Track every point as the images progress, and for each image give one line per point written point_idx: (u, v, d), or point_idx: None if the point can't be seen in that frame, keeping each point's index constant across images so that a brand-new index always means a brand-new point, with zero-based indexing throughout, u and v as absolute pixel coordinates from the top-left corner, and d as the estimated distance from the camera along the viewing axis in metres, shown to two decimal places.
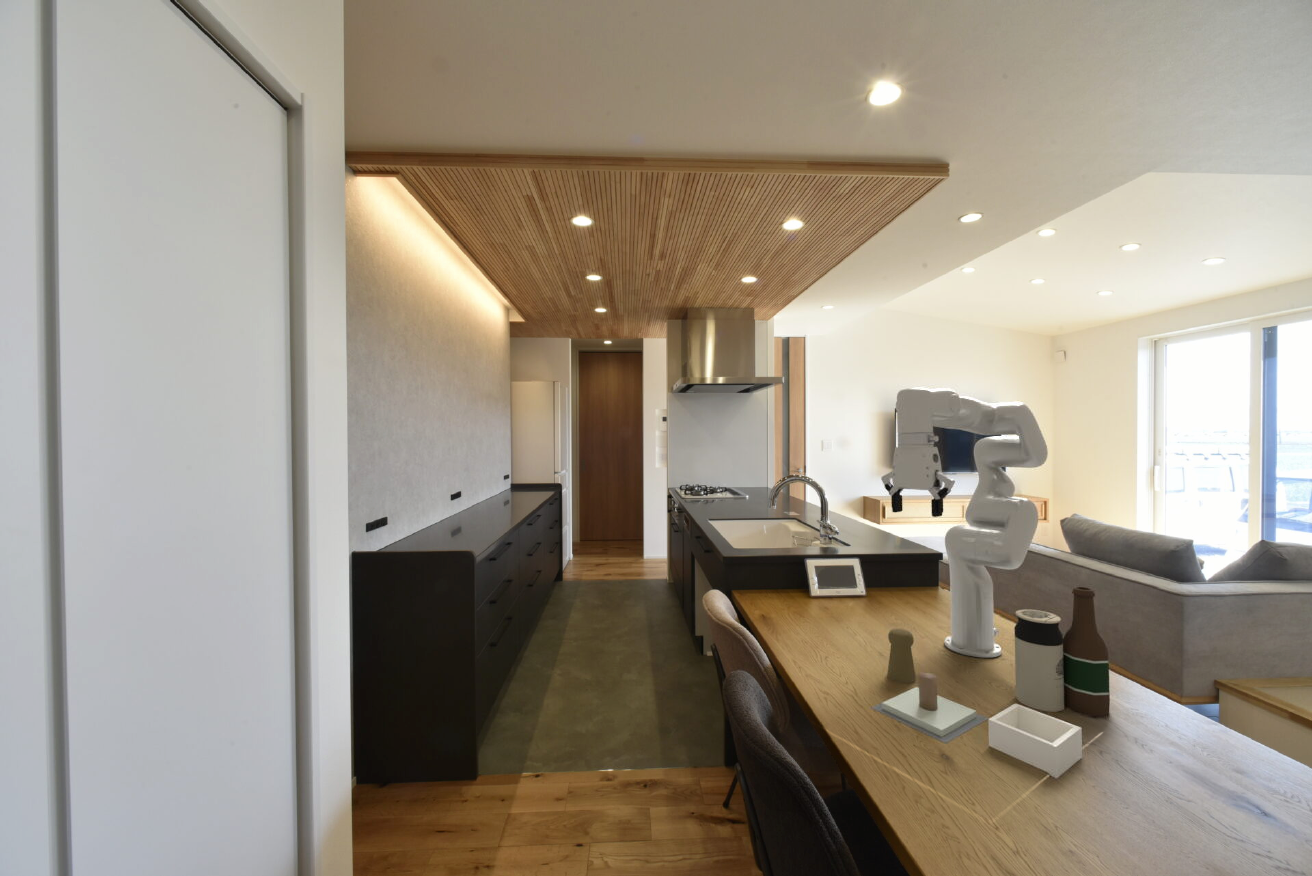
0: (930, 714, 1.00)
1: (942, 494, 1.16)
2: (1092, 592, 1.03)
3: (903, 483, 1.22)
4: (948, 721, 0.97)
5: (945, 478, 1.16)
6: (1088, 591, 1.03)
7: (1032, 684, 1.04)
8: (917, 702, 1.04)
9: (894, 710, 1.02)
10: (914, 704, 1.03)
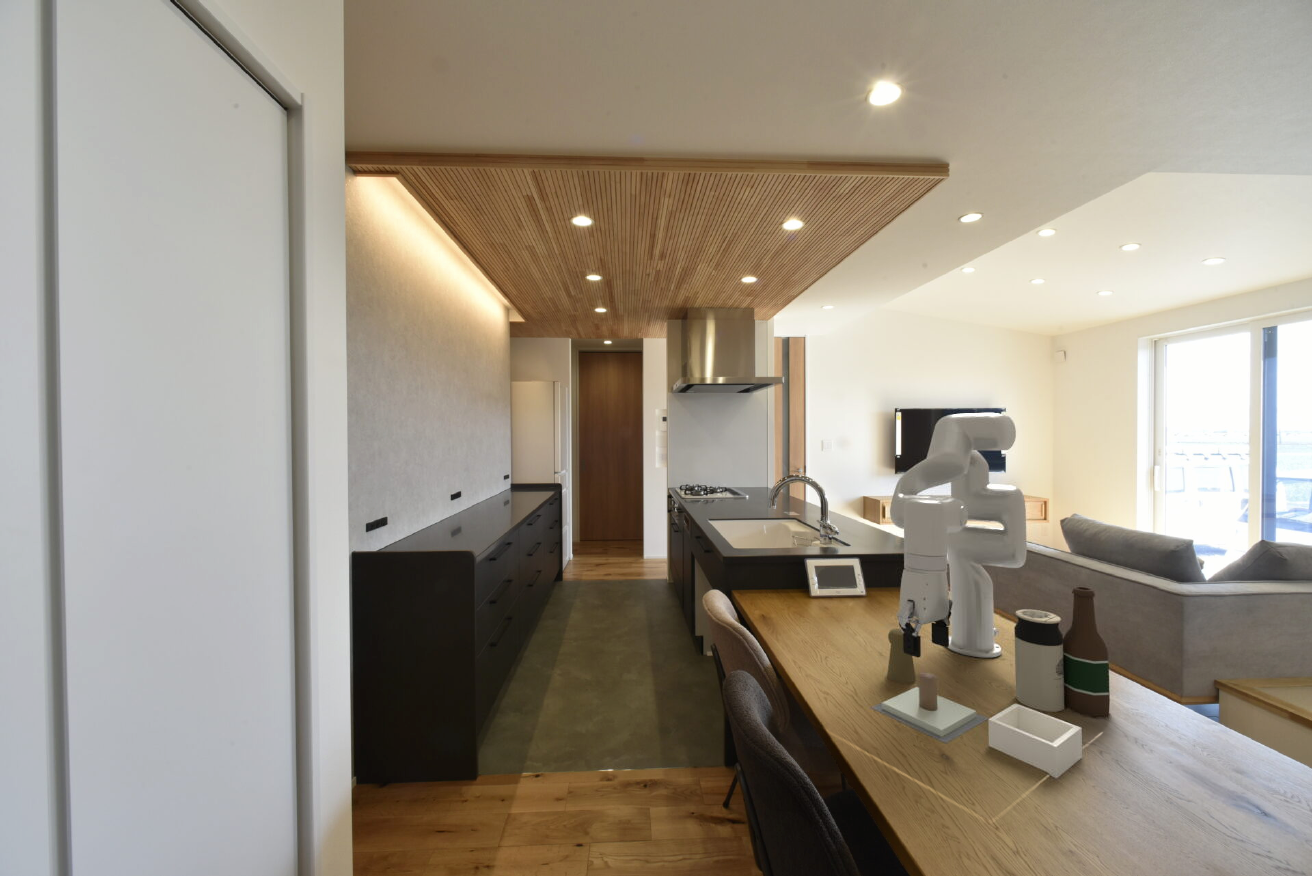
0: (930, 714, 1.00)
1: (948, 618, 1.05)
2: (1092, 592, 1.03)
3: (931, 617, 1.00)
4: (948, 721, 0.97)
5: (948, 600, 1.06)
6: (1088, 592, 1.03)
7: (1032, 684, 1.04)
8: (917, 702, 1.04)
9: (894, 710, 1.02)
10: (914, 704, 1.03)
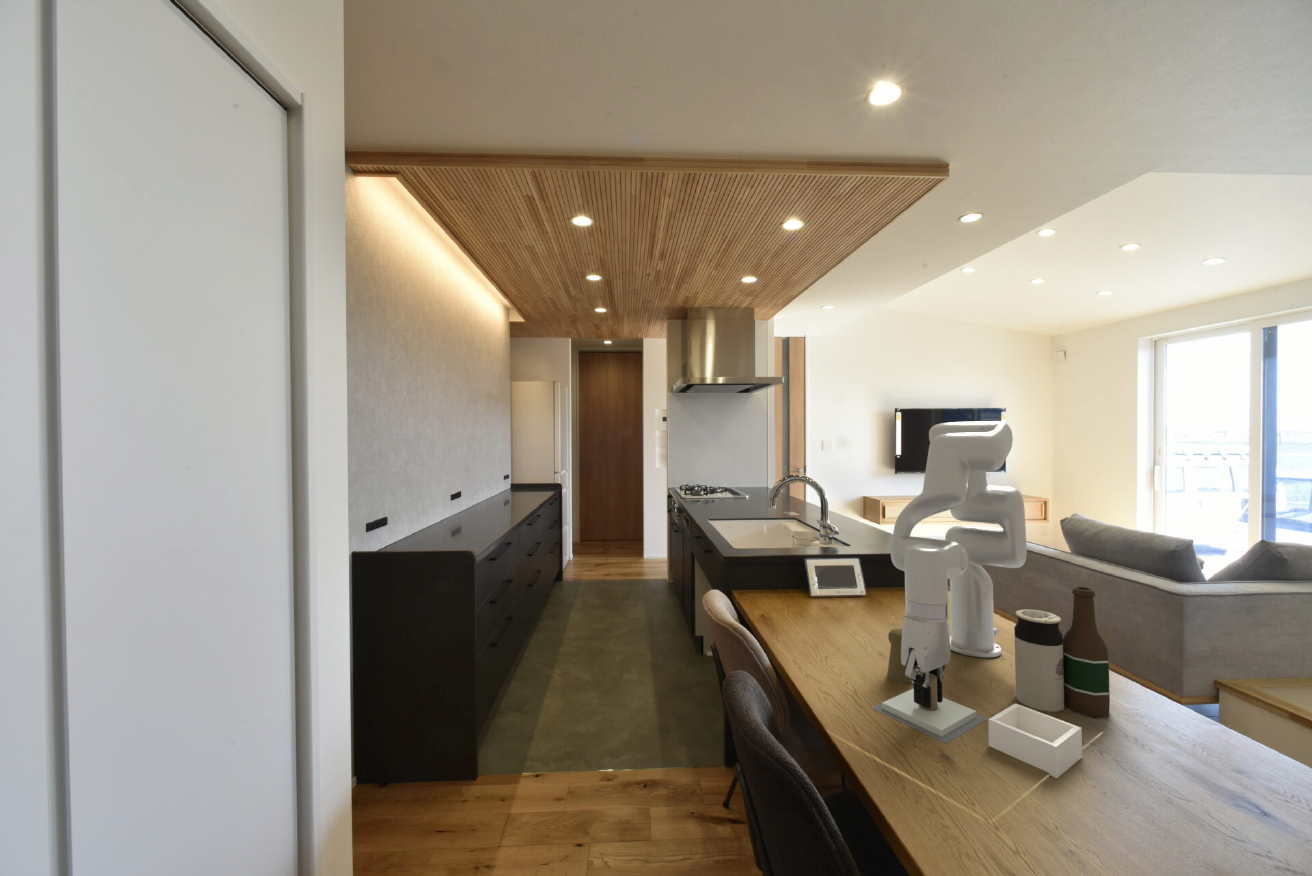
0: (930, 714, 1.00)
1: None
2: (1092, 592, 1.03)
3: (933, 665, 1.00)
4: (948, 721, 0.97)
5: None
6: (1088, 592, 1.03)
7: (1032, 684, 1.04)
8: None
9: (894, 710, 1.02)
10: (914, 704, 1.03)
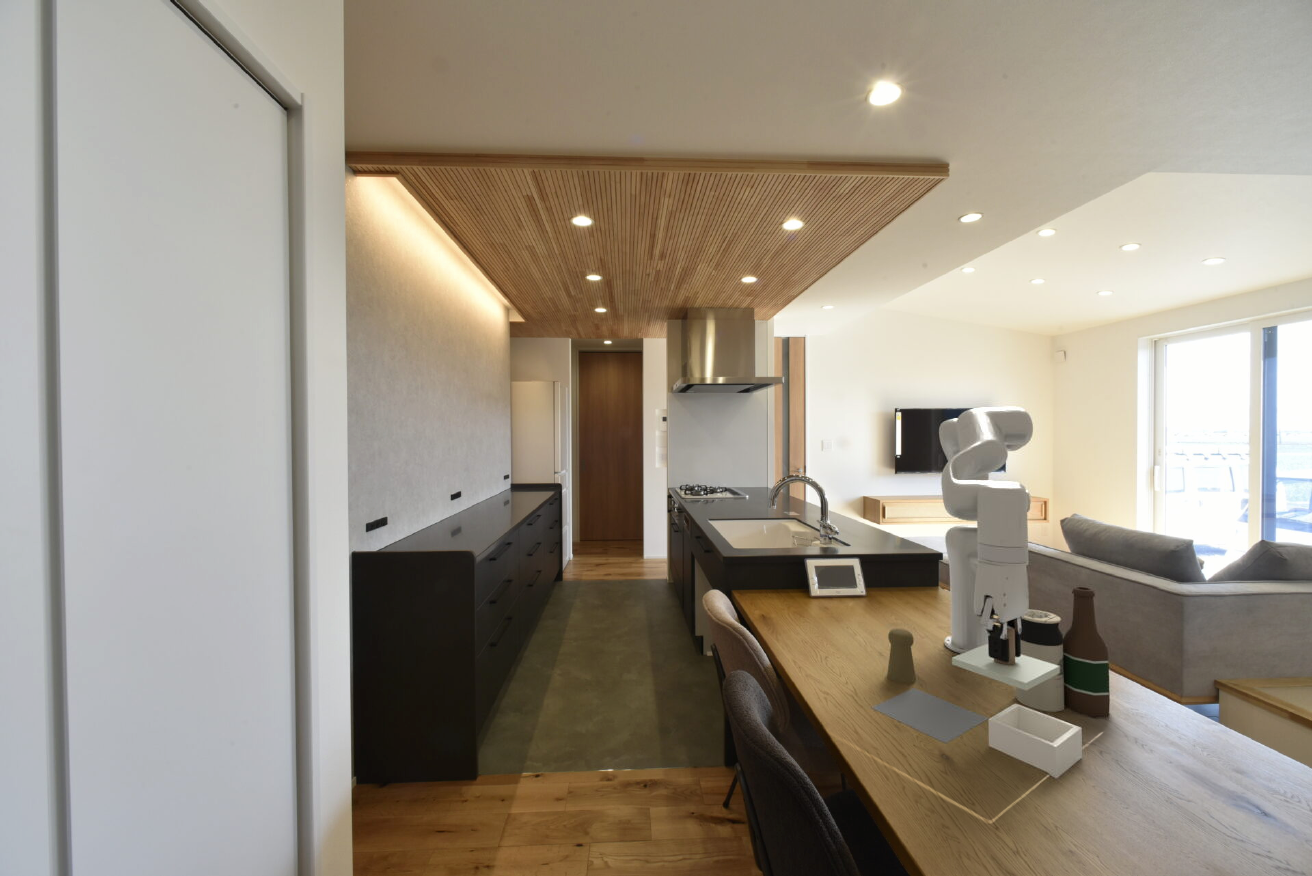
0: (1009, 668, 0.90)
1: None
2: (1092, 592, 1.03)
3: (1011, 614, 0.90)
4: (1031, 675, 0.87)
5: None
6: (1088, 592, 1.03)
7: None
8: None
9: (966, 665, 0.93)
10: (988, 659, 0.94)
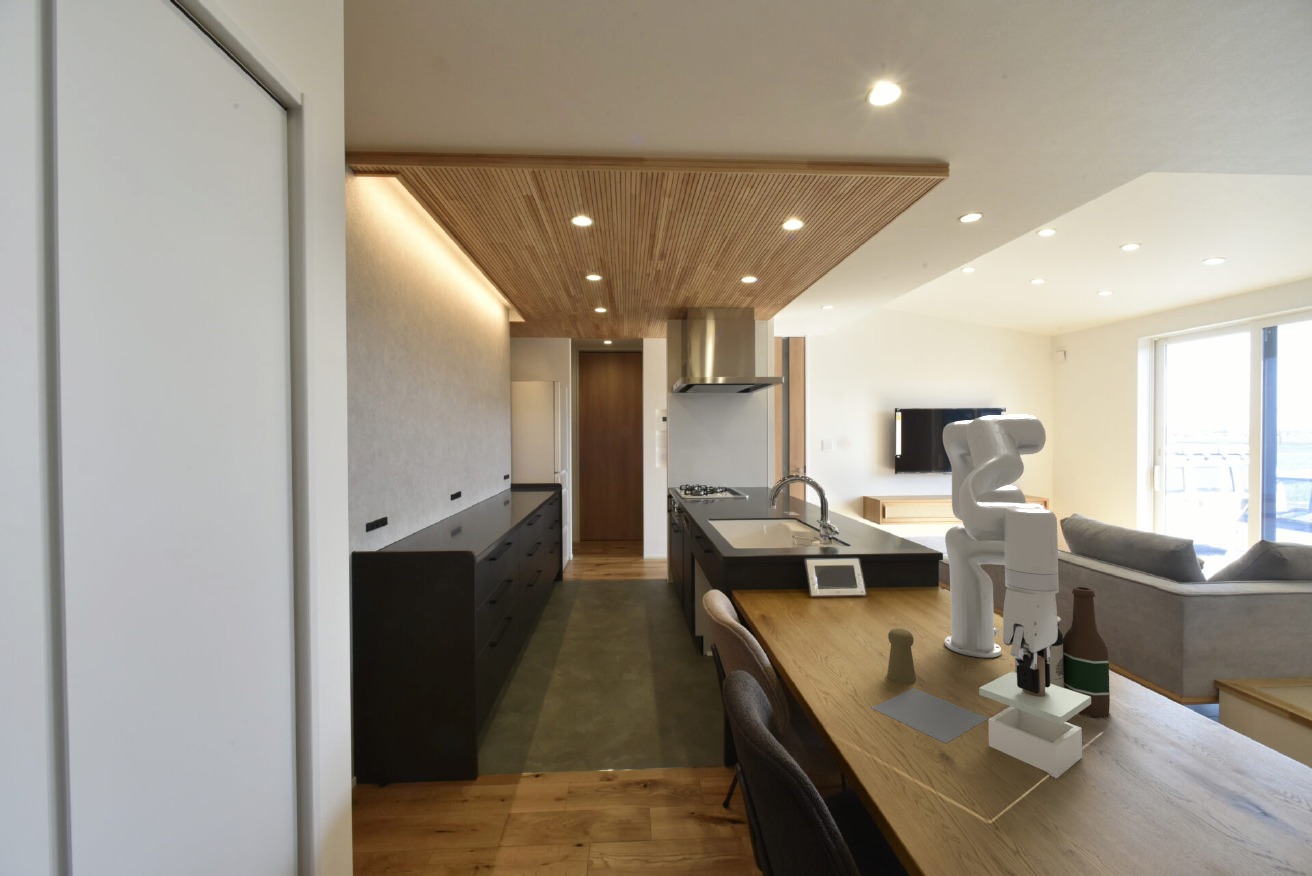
0: (1040, 700, 0.87)
1: None
2: (1092, 592, 1.03)
3: (1042, 643, 0.87)
4: (1063, 707, 0.84)
5: None
6: (1088, 591, 1.03)
7: None
8: None
9: (995, 696, 0.89)
10: (1016, 689, 0.91)
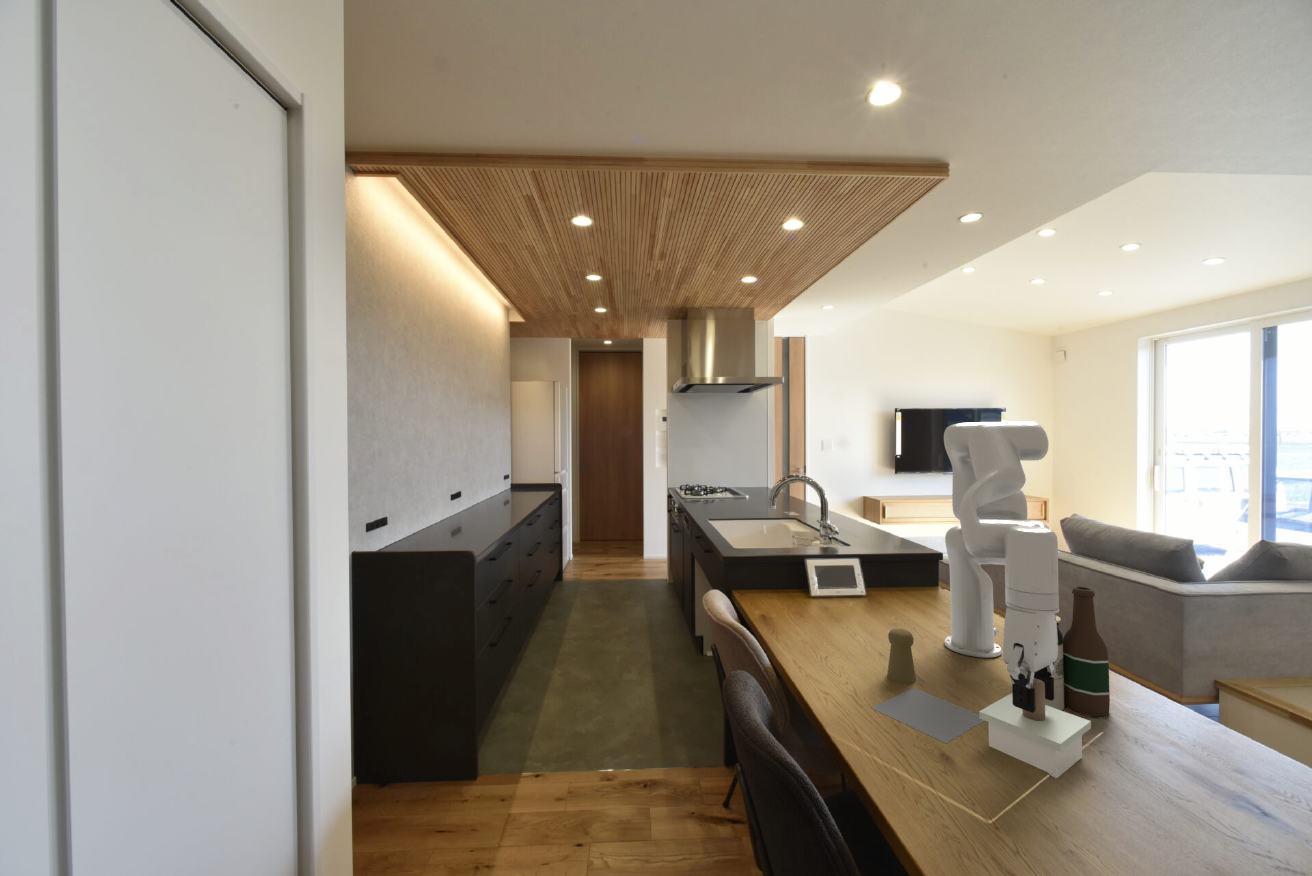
0: (1040, 725, 0.87)
1: None
2: (1092, 592, 1.03)
3: (1042, 663, 0.87)
4: (1063, 733, 0.84)
5: None
6: (1088, 591, 1.03)
7: None
8: (1019, 711, 0.91)
9: (995, 720, 0.89)
10: (1017, 713, 0.91)
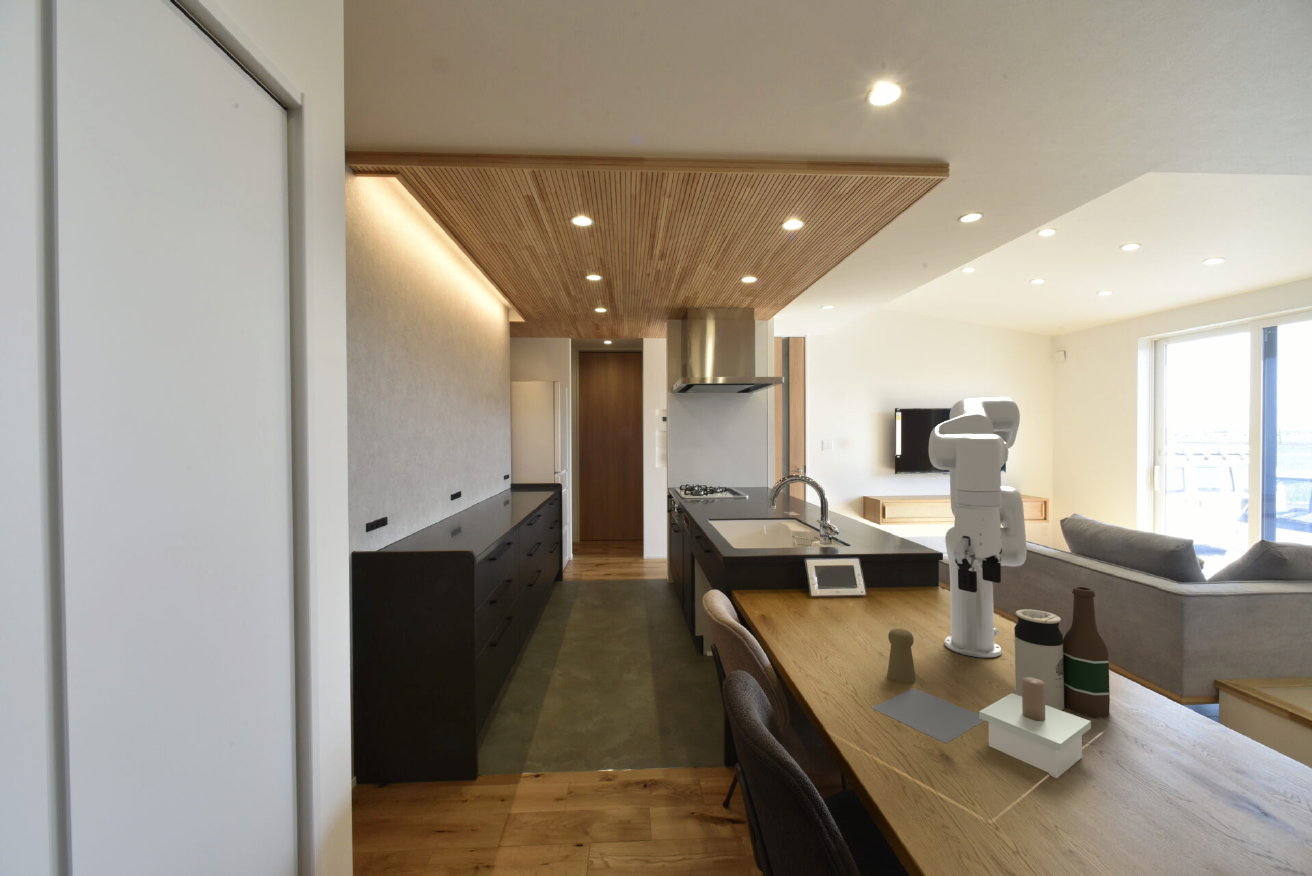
0: (1040, 725, 0.87)
1: None
2: (1092, 592, 1.03)
3: (986, 552, 0.99)
4: (1063, 733, 0.84)
5: None
6: (1088, 592, 1.03)
7: None
8: (1019, 711, 0.91)
9: (995, 720, 0.89)
10: (1017, 713, 0.91)
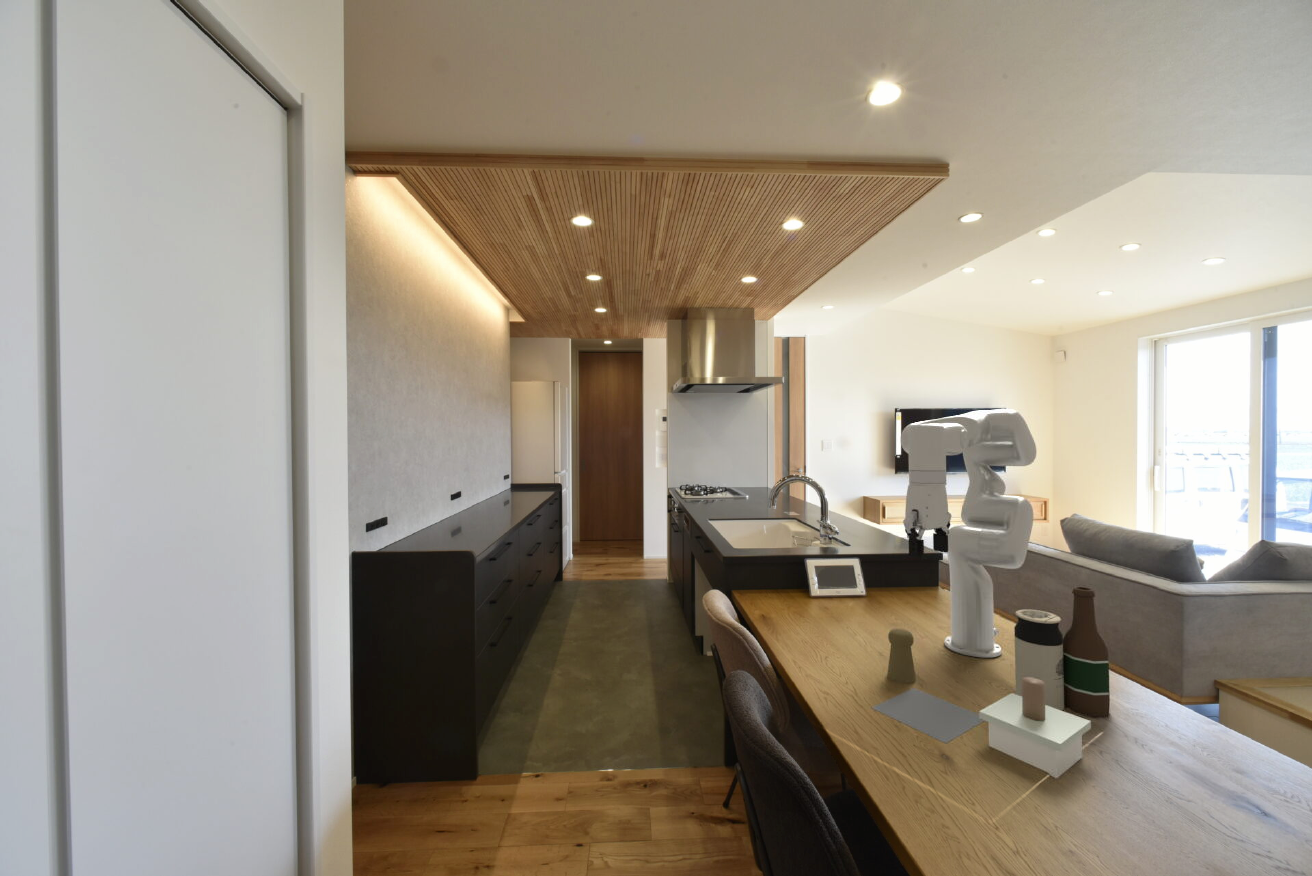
0: (1040, 725, 0.87)
1: None
2: (1092, 592, 1.03)
3: (933, 524, 1.15)
4: (1063, 733, 0.84)
5: (948, 513, 1.21)
6: (1088, 592, 1.03)
7: None
8: (1019, 711, 0.91)
9: (995, 720, 0.89)
10: (1017, 713, 0.91)
